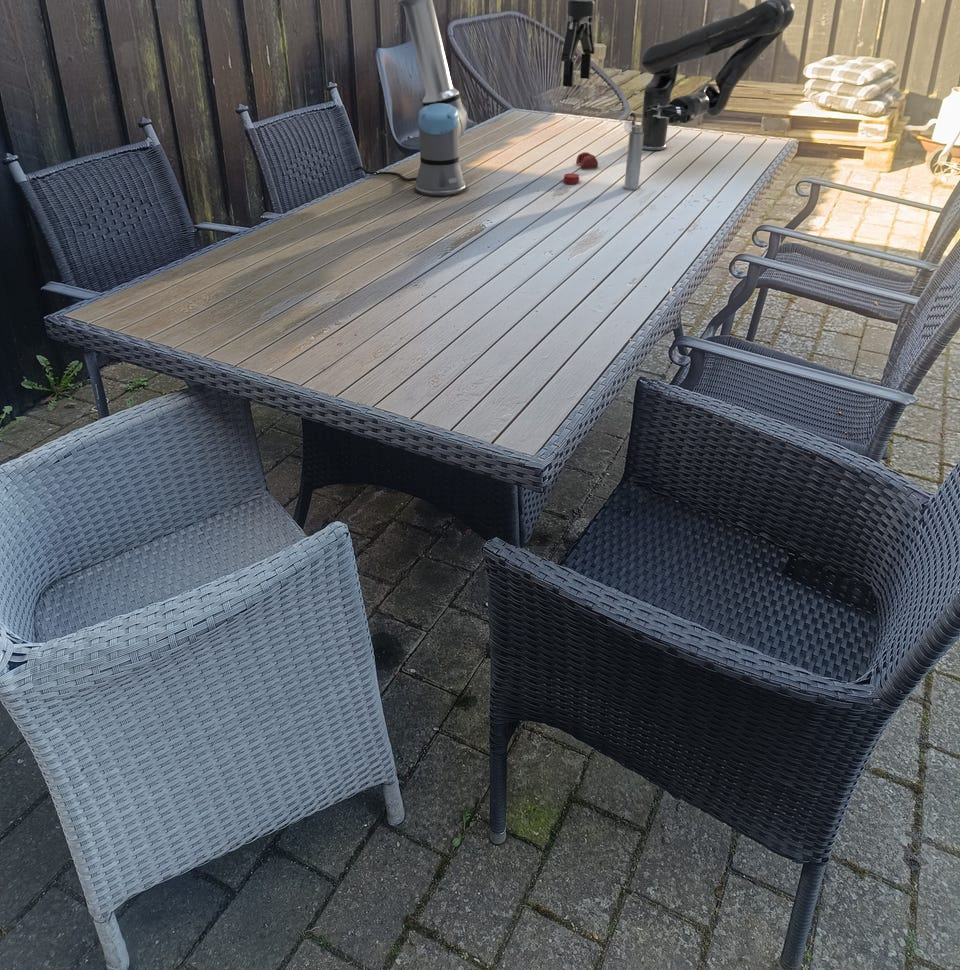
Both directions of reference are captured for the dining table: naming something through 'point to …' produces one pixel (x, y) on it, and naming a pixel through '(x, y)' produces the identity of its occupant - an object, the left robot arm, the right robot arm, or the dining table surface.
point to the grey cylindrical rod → (634, 157)
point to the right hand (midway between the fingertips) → (657, 117)
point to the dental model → (587, 160)
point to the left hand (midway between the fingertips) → (576, 82)
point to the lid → (571, 178)
